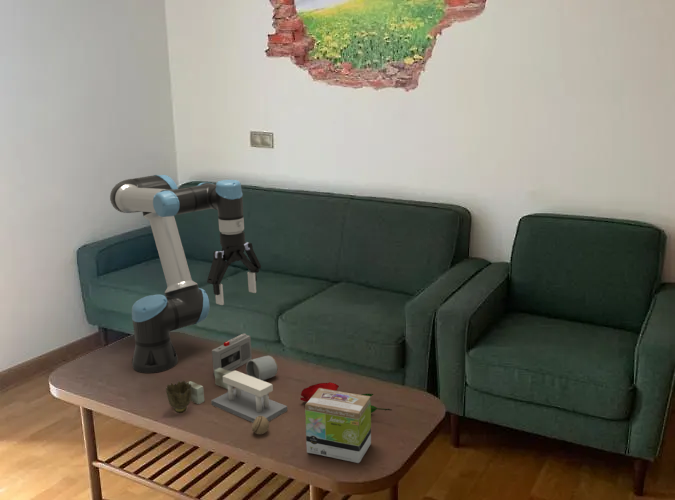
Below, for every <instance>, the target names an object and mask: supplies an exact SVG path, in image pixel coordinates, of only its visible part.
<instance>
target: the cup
mask: <svg viewBox="0 0 675 500" xmlns="http://www.w3.org/2000/svg"><path fill="white" fill-rule="evenodd" d="M187 382H188V383H187ZM187 382H186V381H185V380H183V381H179V380H177V382H176V383H175V384H174V383H173V382H171V383H170V384H167V385H166V387H165V391H166V397H167V400H168V403H169V405H170V407H172V408H173V409H174V412H175V413H176V414H183V413H185V412H187V410H188V406H189V405H190V404H191V402H192V401H191V383H190V384H189V382H190V381H187Z"/></svg>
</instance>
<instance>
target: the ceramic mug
mask: <svg viewBox="0 0 675 500" xmlns="http://www.w3.org/2000/svg"><path fill="white" fill-rule="evenodd" d="M278 366H279V365H278V362H277V360H276V359H275V358H274V357H273V356H272V355H264V356H260V357H257V358H252V360H249V361H248V362H247V363H246V364H245V370H246V375H249V376H252V377H254V378H257V379H260V380H262V381H266V380H269V379H271V378H273V377H275V376H276V375H277V373H278V372H279V371H278V370H279V367H278Z"/></svg>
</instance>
